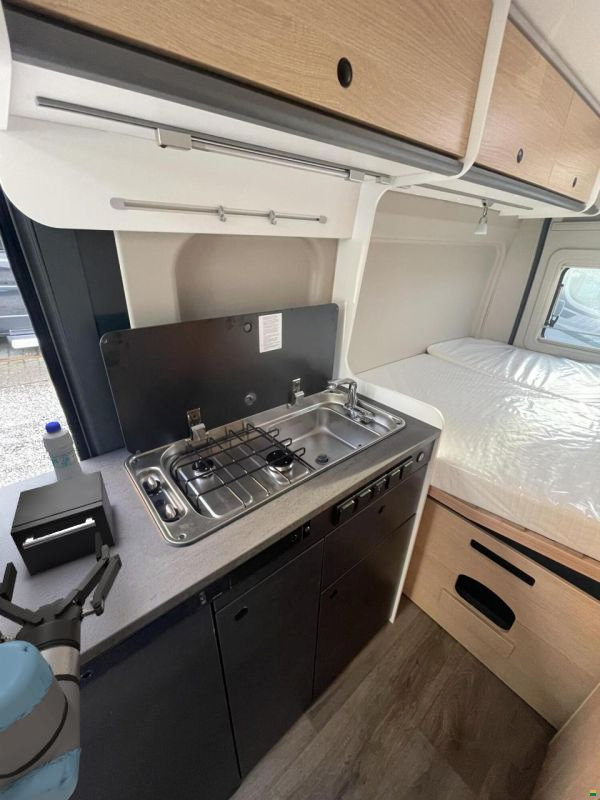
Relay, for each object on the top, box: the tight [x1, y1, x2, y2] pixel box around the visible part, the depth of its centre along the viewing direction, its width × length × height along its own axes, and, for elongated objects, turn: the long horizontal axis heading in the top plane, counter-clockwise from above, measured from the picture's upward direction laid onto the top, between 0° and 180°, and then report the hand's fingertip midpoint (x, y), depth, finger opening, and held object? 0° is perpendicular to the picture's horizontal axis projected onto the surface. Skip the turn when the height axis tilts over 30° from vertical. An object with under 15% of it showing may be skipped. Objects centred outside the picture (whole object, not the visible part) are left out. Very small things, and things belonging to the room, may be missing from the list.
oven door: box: [9, 501, 116, 577], centre depth 70 cm, size 5×16×13 cm, turn 121°
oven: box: [11, 470, 116, 541], centre depth 77 cm, size 12×16×13 cm
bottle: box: [42, 421, 84, 482], centre depth 94 cm, size 7×7×20 cm
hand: (57, 551), depth 62 cm, fingers open, 13 cm apart
